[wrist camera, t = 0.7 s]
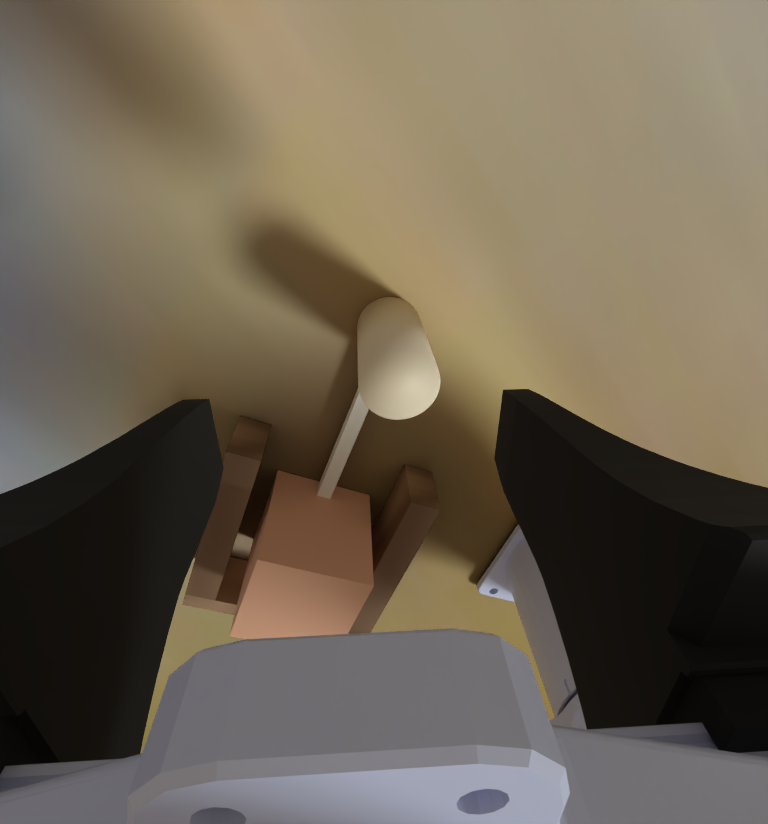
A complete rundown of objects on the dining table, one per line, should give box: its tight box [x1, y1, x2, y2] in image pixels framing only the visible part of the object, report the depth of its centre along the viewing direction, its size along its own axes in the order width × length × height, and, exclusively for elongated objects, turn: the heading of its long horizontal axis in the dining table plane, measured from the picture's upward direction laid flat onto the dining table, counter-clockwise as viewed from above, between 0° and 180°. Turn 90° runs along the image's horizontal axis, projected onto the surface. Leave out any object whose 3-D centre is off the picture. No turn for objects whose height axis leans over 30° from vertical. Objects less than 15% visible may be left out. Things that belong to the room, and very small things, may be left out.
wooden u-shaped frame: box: [182, 416, 441, 634], centre depth 25 cm, size 10×10×3 cm
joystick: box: [230, 297, 441, 639], centre depth 21 cm, size 5×15×6 cm, turn 158°
